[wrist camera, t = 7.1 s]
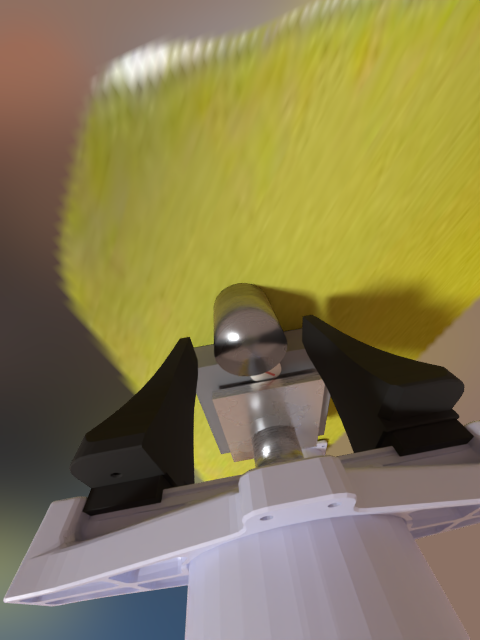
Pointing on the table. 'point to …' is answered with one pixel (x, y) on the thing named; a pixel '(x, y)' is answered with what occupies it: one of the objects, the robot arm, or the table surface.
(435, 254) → the table surface
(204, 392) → the scale base
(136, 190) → the table surface
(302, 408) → the scale pan
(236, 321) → the cylinder
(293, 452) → the steel weight
